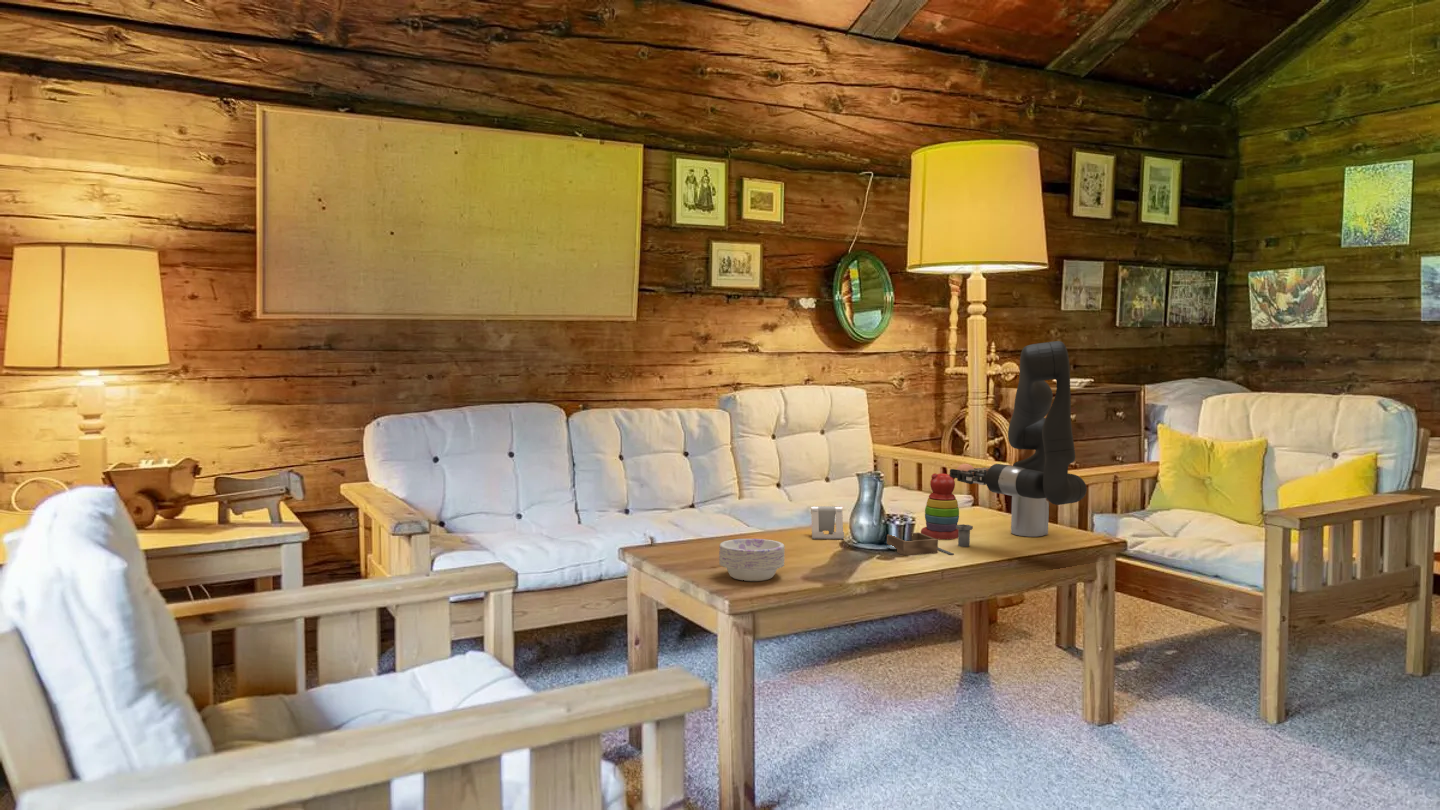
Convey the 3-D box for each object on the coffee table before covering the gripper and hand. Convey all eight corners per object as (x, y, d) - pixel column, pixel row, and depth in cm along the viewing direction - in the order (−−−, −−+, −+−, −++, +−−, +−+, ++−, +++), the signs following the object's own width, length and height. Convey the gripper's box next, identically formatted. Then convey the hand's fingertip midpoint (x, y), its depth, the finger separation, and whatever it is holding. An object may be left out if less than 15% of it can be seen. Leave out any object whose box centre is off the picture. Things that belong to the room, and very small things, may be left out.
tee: (966, 543, 274) (966, 524, 274) (973, 546, 270) (974, 526, 270) (953, 544, 273) (954, 524, 272) (961, 547, 269) (962, 527, 269)
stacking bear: (958, 533, 289) (959, 471, 287) (963, 540, 279) (964, 476, 277) (920, 532, 290) (921, 470, 288) (923, 539, 280) (924, 475, 278)
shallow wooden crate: (918, 545, 272) (918, 532, 272) (937, 552, 263) (937, 539, 263) (886, 547, 269) (886, 534, 269) (904, 555, 260) (905, 541, 260)
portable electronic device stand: (812, 540, 279) (812, 509, 278) (810, 534, 287) (810, 504, 286) (843, 540, 279) (844, 510, 278) (840, 534, 286) (841, 505, 286)
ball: (968, 480, 274) (968, 462, 273) (978, 483, 269) (979, 464, 268) (952, 481, 272) (952, 462, 271) (962, 484, 267) (962, 465, 267)
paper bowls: (763, 566, 247) (763, 534, 247) (796, 580, 234) (797, 546, 233) (707, 573, 240) (707, 540, 239) (739, 588, 227) (739, 553, 226)
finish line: (921, 542, 276) (921, 541, 276) (953, 554, 261) (953, 553, 261) (917, 542, 275) (917, 541, 275) (949, 555, 260) (949, 553, 260)
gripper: (1027, 463, 262) (975, 455, 276) (991, 468, 254) (939, 460, 268) (1026, 492, 263) (974, 483, 277) (990, 497, 255) (939, 488, 268)
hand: (957, 472), depth 272 cm, fingers closed on ball, 5 cm apart
